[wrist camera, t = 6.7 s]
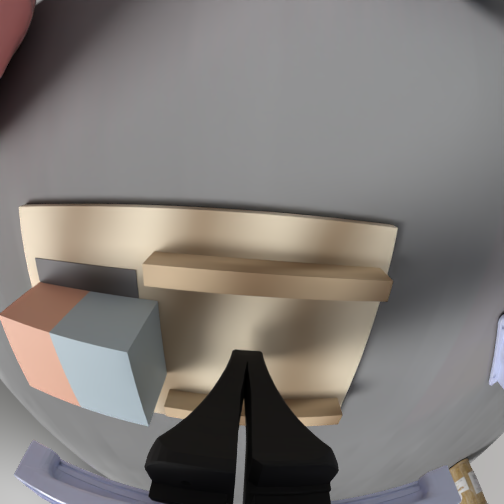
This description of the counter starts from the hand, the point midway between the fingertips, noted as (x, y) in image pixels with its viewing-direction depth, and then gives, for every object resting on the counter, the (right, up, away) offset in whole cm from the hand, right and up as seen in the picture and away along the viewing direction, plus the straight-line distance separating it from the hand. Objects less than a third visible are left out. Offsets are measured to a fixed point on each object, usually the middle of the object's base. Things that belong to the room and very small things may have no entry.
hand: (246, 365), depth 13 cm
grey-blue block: (-6, +1, +1) cm, 7 cm away
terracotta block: (-10, +1, +1) cm, 11 cm away
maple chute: (-4, +1, +2) cm, 4 cm away
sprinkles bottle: (+35, -31, +13) cm, 48 cm away
